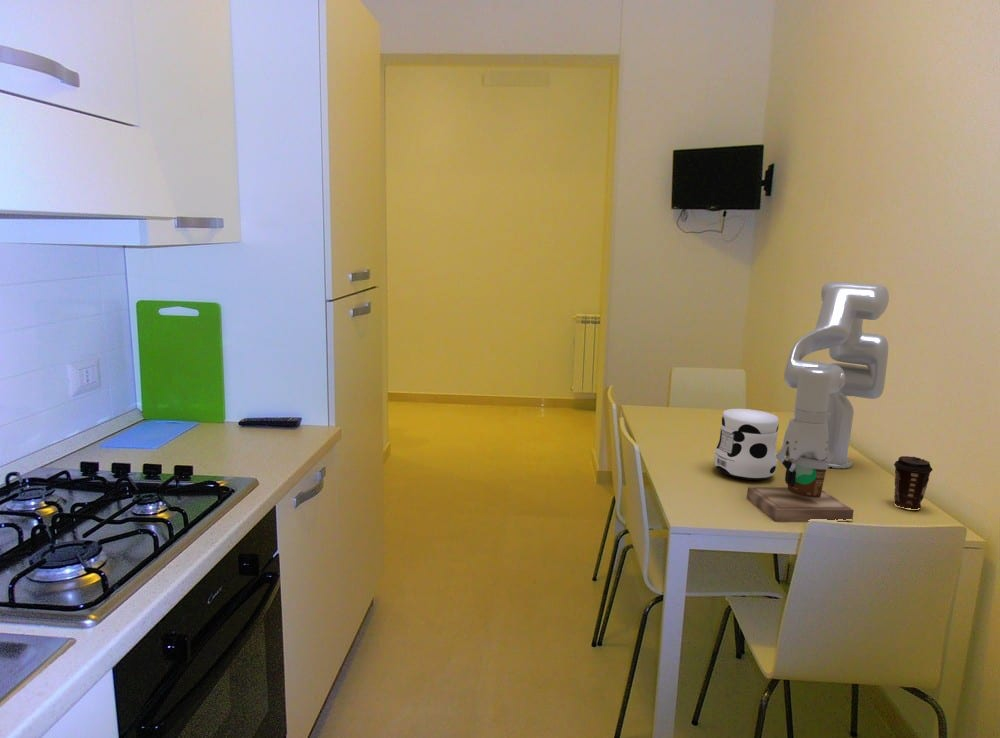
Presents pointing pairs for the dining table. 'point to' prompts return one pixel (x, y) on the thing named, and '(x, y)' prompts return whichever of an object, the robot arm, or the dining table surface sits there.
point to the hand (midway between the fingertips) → (800, 484)
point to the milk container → (747, 444)
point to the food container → (808, 477)
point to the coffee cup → (911, 481)
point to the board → (797, 505)
